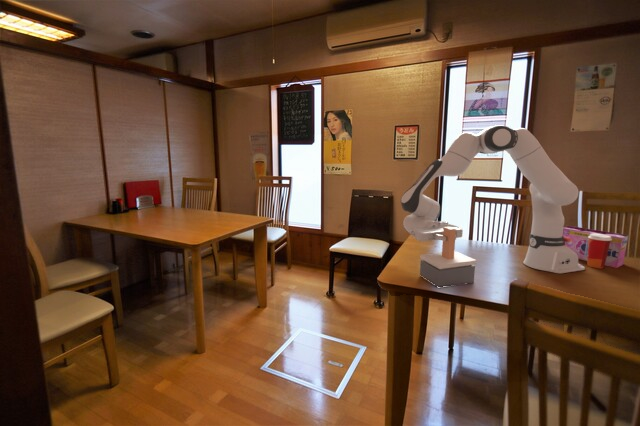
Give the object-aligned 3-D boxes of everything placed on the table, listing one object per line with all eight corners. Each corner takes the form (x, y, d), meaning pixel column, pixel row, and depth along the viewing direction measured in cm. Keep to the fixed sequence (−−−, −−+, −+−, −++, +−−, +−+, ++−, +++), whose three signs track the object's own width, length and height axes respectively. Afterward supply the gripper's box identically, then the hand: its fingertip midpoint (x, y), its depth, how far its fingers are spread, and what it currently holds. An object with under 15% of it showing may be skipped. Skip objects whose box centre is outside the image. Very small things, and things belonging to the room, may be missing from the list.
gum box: (553, 253, 155) (557, 226, 152) (561, 250, 159) (564, 224, 156) (617, 268, 135) (622, 237, 132) (624, 264, 139) (629, 235, 136)
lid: (454, 257, 132) (456, 222, 129) (476, 267, 120) (479, 229, 118) (420, 261, 128) (421, 226, 125) (439, 272, 116) (441, 233, 113)
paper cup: (598, 263, 141) (602, 233, 138) (612, 269, 133) (617, 237, 130) (579, 262, 141) (583, 232, 139) (592, 269, 134) (597, 237, 131)
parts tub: (452, 272, 133) (453, 256, 132) (473, 283, 122) (475, 265, 120) (419, 276, 129) (420, 260, 128) (438, 288, 118) (439, 270, 116)
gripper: (407, 225, 131) (427, 232, 118) (449, 221, 136) (472, 228, 123) (407, 239, 132) (426, 249, 119) (448, 235, 138) (471, 243, 124)
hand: (450, 238), depth 121 cm, fingers closed on lid, 2 cm apart
